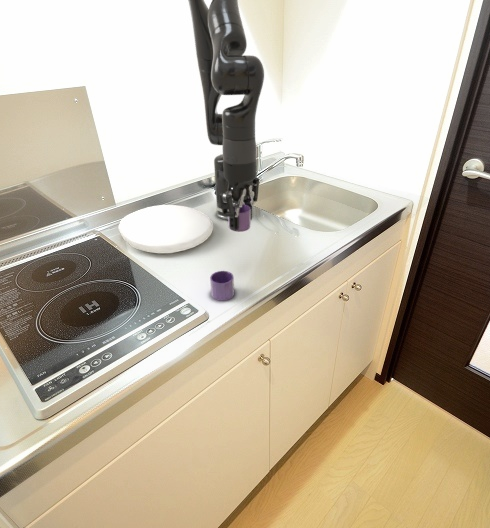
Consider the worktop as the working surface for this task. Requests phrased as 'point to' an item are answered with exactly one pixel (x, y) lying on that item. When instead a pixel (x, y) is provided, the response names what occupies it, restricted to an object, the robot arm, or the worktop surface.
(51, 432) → the worktop surface
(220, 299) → the ramekin
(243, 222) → the ramekin
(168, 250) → the plate
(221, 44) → the robot arm
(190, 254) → the worktop surface
